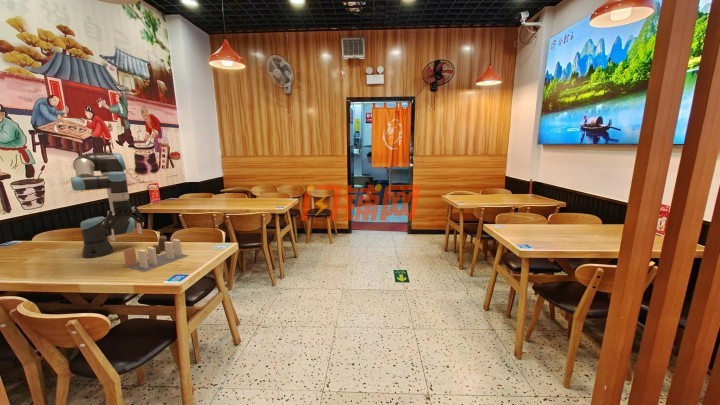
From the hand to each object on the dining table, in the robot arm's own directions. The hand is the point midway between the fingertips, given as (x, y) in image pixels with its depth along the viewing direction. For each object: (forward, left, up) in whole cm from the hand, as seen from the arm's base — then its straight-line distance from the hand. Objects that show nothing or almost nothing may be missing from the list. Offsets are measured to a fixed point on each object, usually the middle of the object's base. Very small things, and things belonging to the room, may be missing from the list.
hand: (127, 237), depth 163 cm
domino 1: (0, 0, -17) cm, 17 cm away
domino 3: (+10, +6, -17) cm, 21 cm away
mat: (+8, +10, -18) cm, 22 cm away
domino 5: (+10, +21, -17) cm, 29 cm away
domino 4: (+10, +16, -17) cm, 25 cm away
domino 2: (+10, +1, -17) cm, 20 cm away
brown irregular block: (-7, +21, -18) cm, 29 cm away
